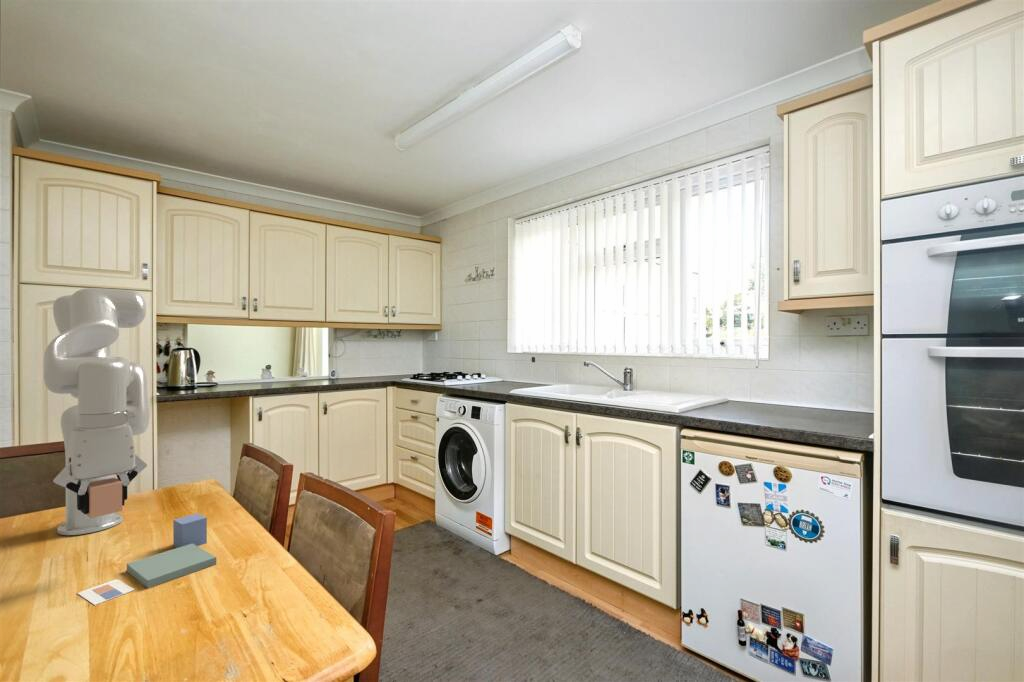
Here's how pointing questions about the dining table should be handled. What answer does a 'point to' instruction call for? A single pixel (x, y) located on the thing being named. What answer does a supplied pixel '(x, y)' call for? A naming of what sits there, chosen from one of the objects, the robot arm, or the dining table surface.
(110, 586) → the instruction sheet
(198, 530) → the brick
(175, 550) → the baseplate
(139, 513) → the dining table surface
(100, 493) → the brick
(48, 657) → the dining table surface
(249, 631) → the dining table surface
